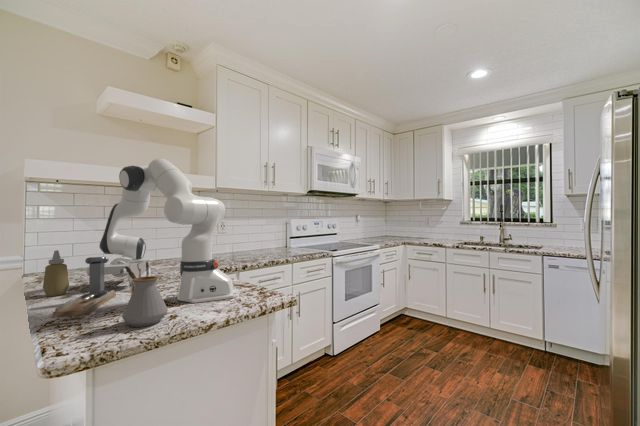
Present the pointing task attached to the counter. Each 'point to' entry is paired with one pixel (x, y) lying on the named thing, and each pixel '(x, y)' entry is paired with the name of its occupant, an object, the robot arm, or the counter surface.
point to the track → (82, 305)
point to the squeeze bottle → (56, 276)
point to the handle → (96, 277)
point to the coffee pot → (144, 302)
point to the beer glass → (138, 271)
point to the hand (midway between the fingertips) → (109, 272)
